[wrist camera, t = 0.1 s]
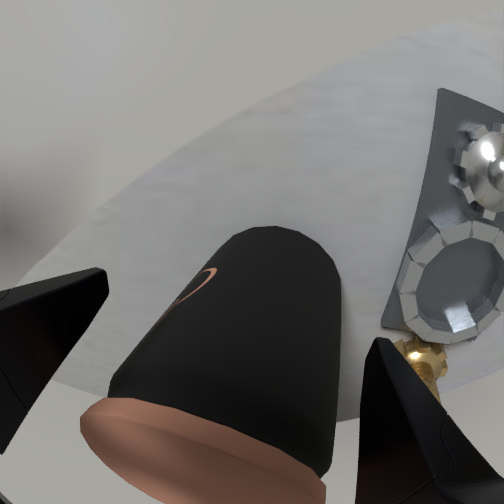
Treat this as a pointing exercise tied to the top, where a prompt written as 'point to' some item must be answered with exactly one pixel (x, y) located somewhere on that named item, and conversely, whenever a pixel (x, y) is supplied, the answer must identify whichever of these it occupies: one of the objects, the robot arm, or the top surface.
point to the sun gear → (482, 169)
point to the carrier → (450, 241)
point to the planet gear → (425, 360)
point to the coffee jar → (232, 381)
